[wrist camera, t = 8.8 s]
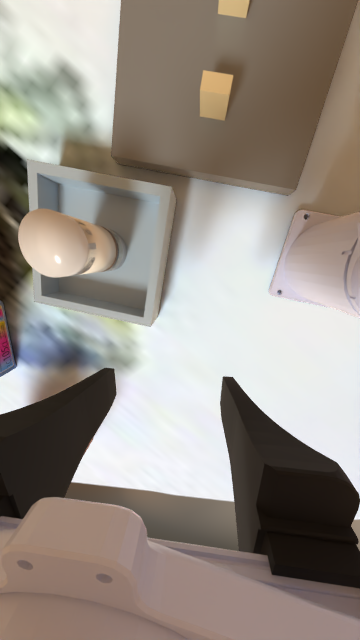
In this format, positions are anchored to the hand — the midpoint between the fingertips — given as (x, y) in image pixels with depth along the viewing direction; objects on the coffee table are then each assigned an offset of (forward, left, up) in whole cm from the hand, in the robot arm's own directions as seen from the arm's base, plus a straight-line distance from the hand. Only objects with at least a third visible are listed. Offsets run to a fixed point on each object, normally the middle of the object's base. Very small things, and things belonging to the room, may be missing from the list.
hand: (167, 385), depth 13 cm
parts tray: (+9, -7, -10) cm, 15 cm away
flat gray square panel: (+1, -22, -10) cm, 24 cm away
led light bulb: (+9, -7, -9) cm, 15 cm away
